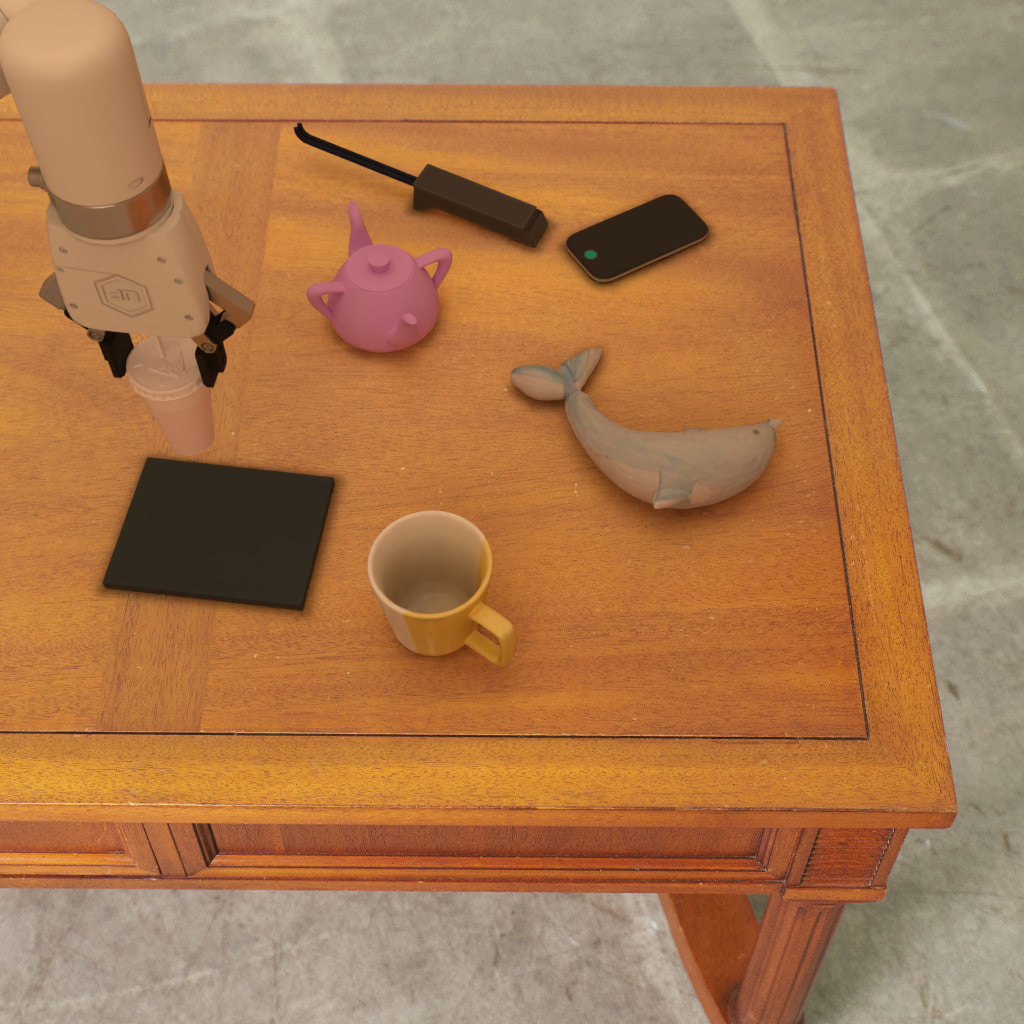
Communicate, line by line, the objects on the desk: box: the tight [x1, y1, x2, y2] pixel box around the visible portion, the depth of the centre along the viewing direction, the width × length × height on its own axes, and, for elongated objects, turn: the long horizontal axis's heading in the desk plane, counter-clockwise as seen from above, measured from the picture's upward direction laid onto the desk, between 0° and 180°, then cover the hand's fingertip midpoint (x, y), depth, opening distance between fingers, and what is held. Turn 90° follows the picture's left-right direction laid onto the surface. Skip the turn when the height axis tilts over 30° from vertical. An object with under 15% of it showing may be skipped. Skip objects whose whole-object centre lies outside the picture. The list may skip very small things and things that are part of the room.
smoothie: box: [126, 335, 215, 457], centre depth 100 cm, size 6×6×14 cm
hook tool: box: [293, 122, 549, 248], centre depth 141 cm, size 4×4×30 cm
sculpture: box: [509, 347, 784, 510], centre depth 123 cm, size 18×8×25 cm
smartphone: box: [565, 194, 710, 283], centre depth 138 cm, size 8×1×15 cm
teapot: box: [305, 200, 453, 354], centre depth 128 cm, size 12×14×9 cm
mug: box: [366, 510, 517, 668], centre depth 107 cm, size 14×10×10 cm
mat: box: [102, 456, 336, 612], centre depth 117 cm, size 18×14×1 cm
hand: (169, 367), depth 98 cm, fingers closed on smoothie, 6 cm apart
